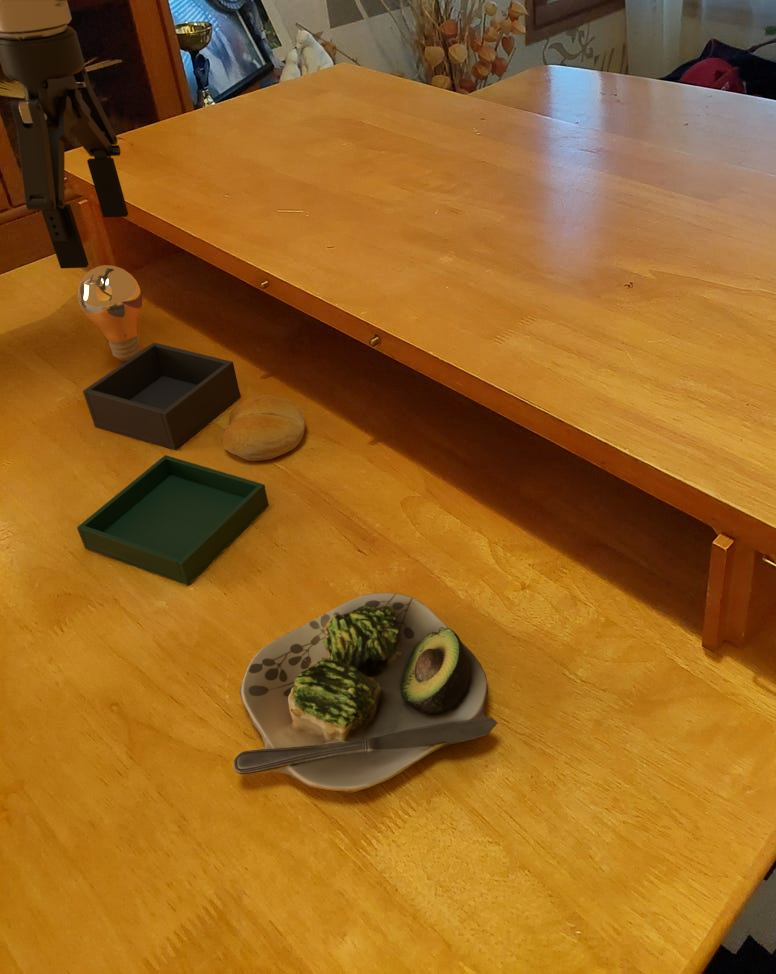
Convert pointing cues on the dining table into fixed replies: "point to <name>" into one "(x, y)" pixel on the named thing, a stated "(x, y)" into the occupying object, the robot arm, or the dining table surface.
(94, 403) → the bin
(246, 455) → the bread roll
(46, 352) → the dining table surface
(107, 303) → the light bulb
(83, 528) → the tray
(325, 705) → the avocado toast plate
